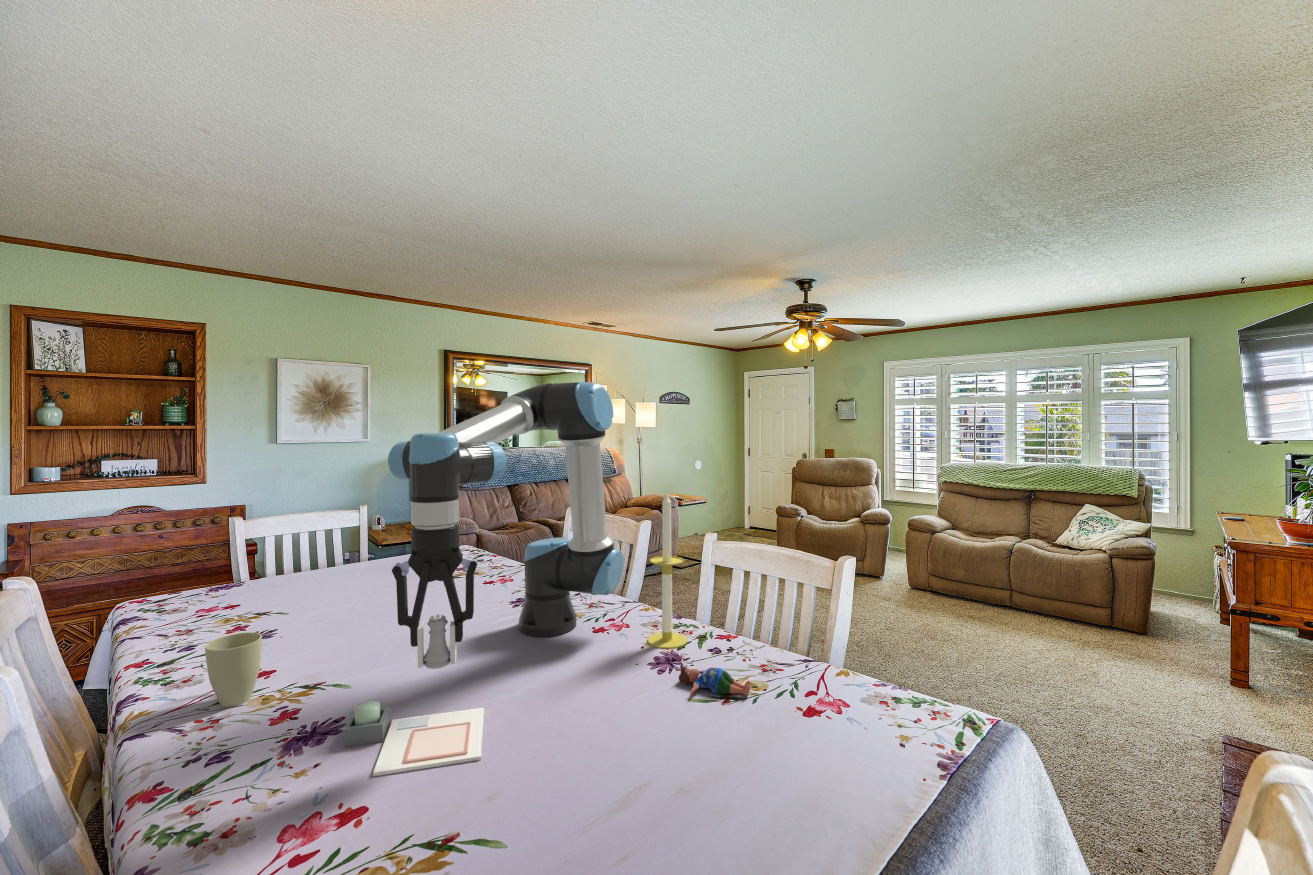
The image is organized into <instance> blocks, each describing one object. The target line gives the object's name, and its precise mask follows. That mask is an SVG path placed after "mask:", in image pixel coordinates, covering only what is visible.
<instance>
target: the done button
mask: <svg viewBox="0 0 1313 875" xmlns="http://www.w3.org/2000/svg"><path fill="white" fill-rule="evenodd" d="M380 708H381V703H380V702H379V701H378V700H368V701H363V702H362V703H359V704H358V705H356V706H355V707H354V709H353V710H354V711H353V712H354V716H355V726H358V725H366V724H373V723H379V722H380Z"/></svg>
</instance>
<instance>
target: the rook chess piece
mask: <svg viewBox="0 0 1313 875" xmlns="http://www.w3.org/2000/svg"><path fill="white" fill-rule="evenodd" d="M446 618H447V617H446V615H445V614H436V616H435V615H431V616H430V617H429V620H428V621H427V623H426V624H427V626H428V627H429V630H428V634H429V642H428V648H427V649H426V651H425V656H424V659H425V661H424V663H423V664H424V665H423V666H425V668H426V669H428V670H429V669H431V670H435V669H437V670H438V669H442V668H446V667H447V666H448V665H450V649H449V647H448V645H447V640H446V633H447V629H446V625H447V624H448V623H449V622H448V620H447V619H446Z"/></svg>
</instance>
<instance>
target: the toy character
mask: <svg viewBox="0 0 1313 875" xmlns="http://www.w3.org/2000/svg"><path fill="white" fill-rule="evenodd" d="M679 669H680V673H679V675H678V681H679V682H680V683H681V684H683V685H686V686H691V685H693V686H692V687H691V690H690V693H689V695H690V697H692V696H693V695H694V693H695V692H696V691H697V690H698V689H700V688H708V689H709V690H710V691H711V692H712V693H713V694H715V695H722V694H723V695H724V694H730V695H731V694H742V695H744V696H747V697H748V696H749V693H750V691H751V681H750V680H747V681H746V683H745V685H744V684H742V683H741V682H739V681H737V680H735V679H734V678H733V677H732V676H731V674H729V672H728V671H726V670H725V669H723V668H719V667H710V668H708V669H707V670H704V671H703V672H702V673H700V670H699V669H697V668H692V669H691V668H688V667H685V666H681V665H680V666H679Z"/></svg>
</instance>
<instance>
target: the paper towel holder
mask: <svg viewBox="0 0 1313 875" xmlns="http://www.w3.org/2000/svg"><path fill="white" fill-rule="evenodd" d="M684 561H685V559H684V558H683V557H681V556H677V555H672V500H671V499H670V498H669V493H668V490H667V491H666V492H665V495H664V499H663V500H662V555H657V556H653V557H651V558H650V559H649V562H650V563H651V564H652V565H656V566H660V567H661V599H662V600H661V626H662V628H661V632H655V633H653V634H651V635H649V636H648V637H647V640H646V642H647V643H648V645H650V646H652V647H653V648H656V649H663V650H664V649H665V650H671V649H677V648H680V647H684V646H685V645H686V644H687V642H688V638H687V637H686V636H685V634H684V635H683V634H682V633H677V632H673V566H678V565H681V564H684Z"/></svg>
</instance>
